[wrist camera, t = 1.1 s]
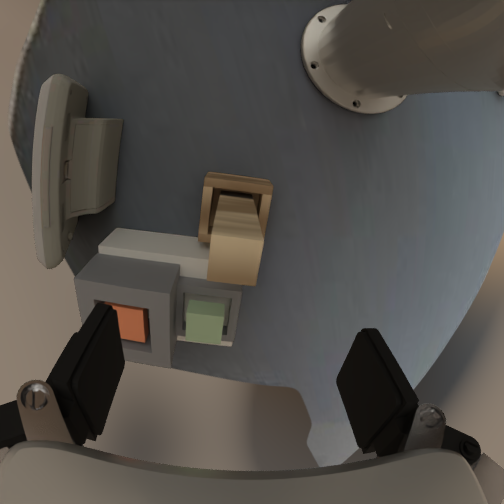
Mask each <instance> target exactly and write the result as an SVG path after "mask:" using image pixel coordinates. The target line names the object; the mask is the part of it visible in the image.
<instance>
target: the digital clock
mask: <svg viewBox="0 0 504 504" xmlns="http://www.w3.org/2000/svg"><path fill="white" fill-rule="evenodd" d="M87 101H88V90H87V89H86V88H85V87H84V86H82V85H81V84H79V83H77V82H76V81H74V80H73V79H71V78H69V77H68V76H65V75H62V74H54V75H52V76H51V77H50V78H49V79H48V80H47V81H45V82H44V83H43V85H42V87H41V91H40V96H39V101H38V107H37V114H36V122H35V132H34V143H33V160H32V206H33V207H32V209H33V226H34V237H35V246H36V254H37V259H38V260H39V262H40V263H42V265H43V266H44V267H46V268H47V269H52V268H54V267H56V266H57V265H59V264H60V263H61V262H62V261H63V259H64V257H65V254H66V252H67V249H68V246H69V244H70V241H71V240H72V239H73V238H72V236H73V233H74V231H75V228H76V226H77V223H78V216H80V215H84V214H95V213H98V212H100V211H102V210H104V209H105V208H106V207H108V206H109V205H111V204H112V203H113V202H115V190H116V177H117V166H118V157H119V148H120V140H121V133H122V126H123V119H110V118H85V113H86V107H87Z"/></svg>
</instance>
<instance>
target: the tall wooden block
mask: <svg viewBox="0 0 504 504" xmlns="http://www.w3.org/2000/svg"><path fill="white" fill-rule="evenodd" d="M263 244H264V239H263V235H262V231H261V227H260V223H259V219H258V215H257V211H256V207H255V204H254V200H253V196H252V194H246V193H239V192H231V191H224V190H221V193H220V197H219V201H218V206H217V210H216V215H215V220H214V224H213V229H212V234H211V242H210V251H209V261H208V271H207V281H213V282H222V283H230V284H239V285H248V286H256V281H257V276H258V270H259V265H260V260H261V254H262V249H263Z"/></svg>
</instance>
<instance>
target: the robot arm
mask: <svg viewBox="0 0 504 504" xmlns="http://www.w3.org/2000/svg"><path fill="white" fill-rule="evenodd" d="M318 20H320V21H321V22H322V23H321V22H319V21H318ZM301 57H302V61H303V65H304V67H305V70H306V72H307V74H308V76H309V78H310V79H311V81H312V82H313V83H314V85H315V86H316V88H317V89H318V90H319V91H320V92H321V93H322V94H323V95H324V96H325V97H327V98H328V99H329V100H331V101H332V102H333V103H335V104H337V105H339V106H340V107H342V108H344V109H347V110H350V111H353V112H357V113H363V114H375V113H383V112H386V111H389V110H391V109H393V108H395V107H396V106H398V105H399V104H400V103H402V102H403V101H404V99H405V98H406V97H407V95H412V94H424V93H439V92H466V91H502V90H504V0H352V1H351V2H350V3H349V4H341V5H334V6H331V7H328V8H325V9H323V10H321V11H320V12H318V13H317V14H316V15H315V16H314V17H313V18H312V19H311V20H310V21H309V23H308V24H307V25H306V27H305V29H304V32H303V34H302V39H301ZM311 65H314V66H315V69H313V68H311ZM353 102H354V103H355V106H353ZM124 365H125V359H124V353H123V348H122V342H121V335H120V329H119V322H118V315H117V311H116V310H115V309H113V307H112V305H109V304H103V303H97V304H96V305H95V307H94V308H93V310H92V311H91V313H90V314H89V316H88V317H87V319H86V321H85V322H84V324H83V325H82V327H81V329H80V331H79V332H76V333H74V334H73V336H72V337H71V339H70V340H69V342H68V344H67V345H66V347H65V349H64V350H63V352H62V354H61V356H60V357H59V359H58V361H57V362H56V364H55V366H54V368H53V369H52V371H51V373H50V375H49V377H48V378H47V380H46V382H44V381H41V380H31V381H28V382H26V383H24V384H23V385H22V386H21V387H20V389H19V390H18V393H17V400H15V401H12V402H9V403H6V404H3V405H0V504H501V502H502V500H503V498H504V469H503V468H502V467H501V466H499V465H498V464H497V463H496V462H494V461H493V460H492V459H491V458H490V457H488V456H487V455H486V454H485V453H483V454H482V455H481V449H480V445H479V443H478V442H477V441H476V440H475V439H474V438H473V437H471V436H468V435H466V434H464V433H462V432H460V431H458V430H456V429H453V428H451V427H449V426H447V425H446V418H445V415H444V413H443V412H442V410H441V409H440V408H439V407H437V406H435V405H433V404H423V405H420V406H418V404H417V403H418V401H419V400H418V398H417V396H416V394H415V392H414V391H413V389H412V387H411V385H410V383H409V382H408V380H407V378H406V376H405V375H404V373H403V371H402V369H401V368H400V366H399V364H398V363H397V361H396V359H395V357H394V356H393V354H392V352H391V351H390V349H389V347H388V346H387V344H386V342H385V341H384V339H383V337H382V336H381V334H380V333H379V331H378V330H377V329H376V328H364V329H362V330H361V332H358V333H357V335H356V337H355V340H354V342H353V344H352V346H351V349H350V351H349V353H348V355H347V357H346V359H345V361H344V363H343V366H342V368H341V370H340V372H339V374H338V376H337V379H336V383H337V387H338V389H339V392H340V395H341V398H342V401H343V404H344V407H345V409H346V412H347V415H348V418H349V421H350V424H351V427H352V430H353V433H354V436H355V439H356V442H357V445H358V447H359V448H362V451H363V454H365V453H370V452H375V451H376V454H377V457H376V458H374V459H369V460H364V461H358V462H353V463H347V464H341V465H334V466H326V467H318V468H308V469H296V470H280V471H227V470H210V469H198V468H189V467H180V466H173V465H166V464H160V463H154V462H148V461H142V460H138V459H132V458H128V457H124V456H119V455H114V454H111V453H107V452H103V451H99V450H95V449H91V448H87V447H84V446H83V444H84V443H85V441H86V439H90V440H93V441H96V438H97V435H101V434H102V432H103V429H104V426H105V423H106V419H107V416H108V413H109V410H110V407H111V404H112V401H113V398H114V395H115V392H116V389H117V386H118V383H119V381H120V377H121V375H122V372H123V369H124Z"/></svg>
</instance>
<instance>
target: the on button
mask: <svg viewBox="0 0 504 504" xmlns="http://www.w3.org/2000/svg"><path fill="white" fill-rule="evenodd" d="M224 308H225V304H222V303H213V302H205V301H196V300H189V303H188V308H187V312H186V339H185V340H186V341H193V342H202V343H210V344H220V345H221V337H222V329H223V322H224Z"/></svg>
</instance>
